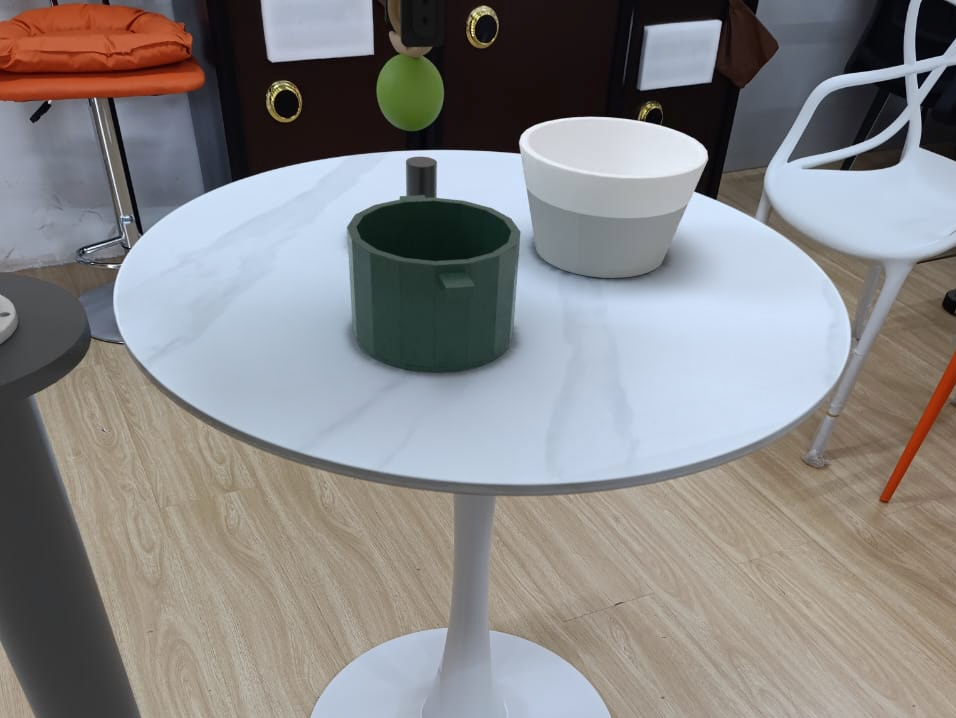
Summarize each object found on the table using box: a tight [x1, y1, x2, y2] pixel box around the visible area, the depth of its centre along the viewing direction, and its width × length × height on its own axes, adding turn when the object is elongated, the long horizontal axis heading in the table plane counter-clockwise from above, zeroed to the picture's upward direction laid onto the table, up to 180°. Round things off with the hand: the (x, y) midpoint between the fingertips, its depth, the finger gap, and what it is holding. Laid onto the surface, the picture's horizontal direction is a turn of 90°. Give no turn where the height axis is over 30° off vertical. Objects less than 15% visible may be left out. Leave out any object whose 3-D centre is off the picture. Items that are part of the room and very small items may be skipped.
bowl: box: [518, 116, 709, 279], centre depth 97 cm, size 19×19×11 cm
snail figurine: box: [376, 0, 445, 132], centre depth 72 cm, size 5×6×12 cm
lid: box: [405, 156, 438, 198], centre depth 97 cm, size 16×16×8 cm
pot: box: [346, 195, 522, 373], centre depth 82 cm, size 15×20×10 cm
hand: (413, 32), depth 71 cm, fingers closed on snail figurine, 5 cm apart
